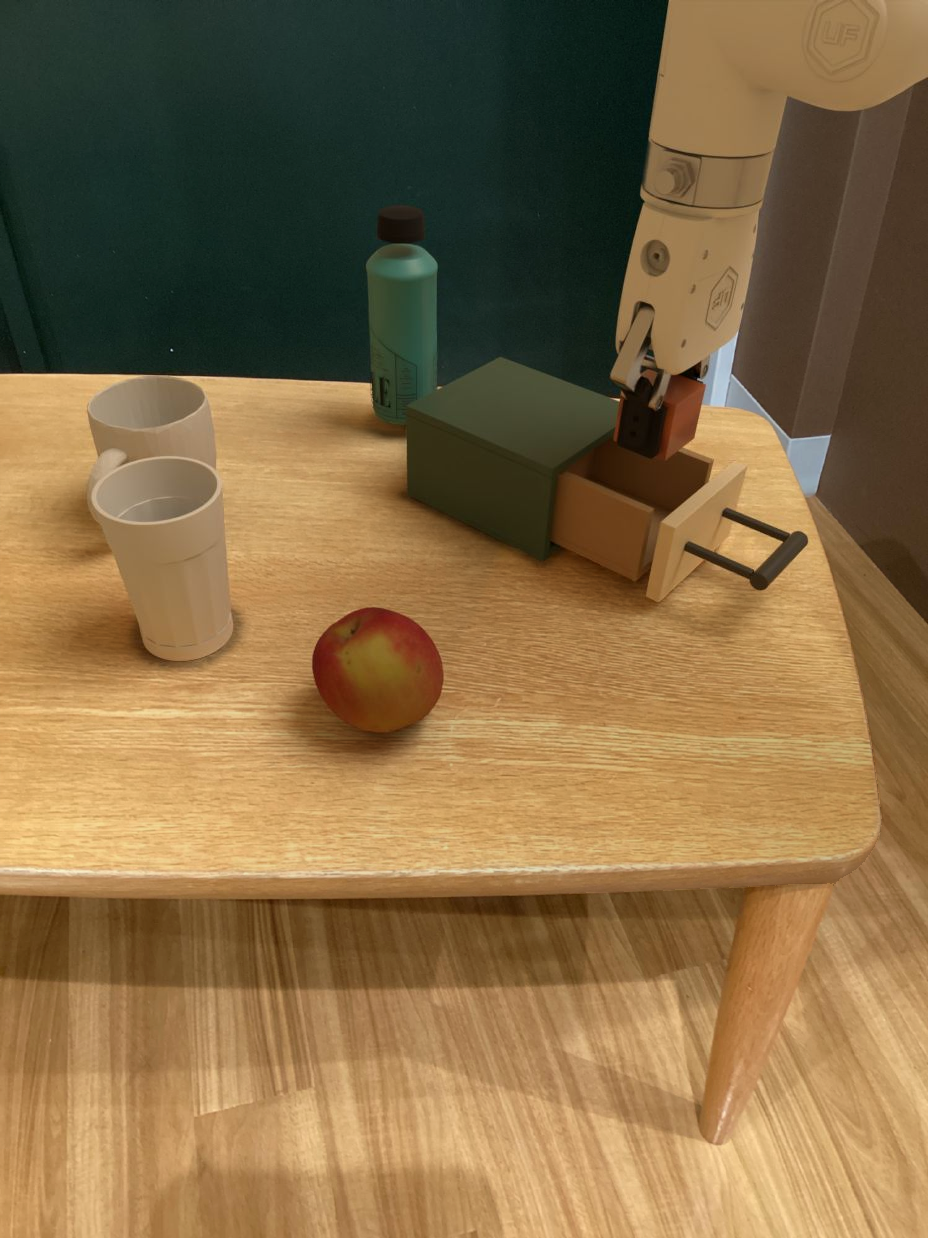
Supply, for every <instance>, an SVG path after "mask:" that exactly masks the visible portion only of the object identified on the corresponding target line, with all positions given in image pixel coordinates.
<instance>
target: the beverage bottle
mask: <svg viewBox="0 0 928 1238" xmlns="http://www.w3.org/2000/svg"><path fill="white" fill-rule="evenodd" d="M376 237H377V239H379V240H380V241H381V242H386V243H391V244H385V245H383V246H381V247H379V248H378V249H377V250H375V252H374V253H373V254H371V256H370V257H369V258H368V260H367V261H366V264H365V271H366V275H367V294H368V295H367V297H368V302H367V303H366V304H367V305H368V315H367V316H366V317H367V318H368V319H367V320H366V322H367V324H368V327H369V329H368V330H369V351H370V352H369V353H370V356H369V358H368V359H369V362H370V364H369V367H368V369H369V372H370V379H369V380H370V381H369V389H370V391H371V393H370V396H371V398H370V402H371V404H372V409H373V410H374V414H375V415H376V416H377V417H378V418H379V419H380V420H382V421H384V422H386V423H390V424H395V425H402V426H404V425H405V426H406V406H407V405H408V404H410V403H412V402H414V401H416V400H418V399H420V398H422V397H424V396H426V395H428V394H430V393H432V392H434V391H435V390H437V389H439V388H440V387H439V382H438V381H439V376H438V373H439V368H438V366H439V361H438V358H439V356H438V351H439V350H438V349H439V348H438V346H439V343H438V338H439V335H438V333H439V331H438V327H437V326H438V325H437V324H438V321H437V320H438V319H437V318H438V317H437V316H438V315H437V309H438V307H437V306H438V305H437V303H438V302H437V300H438V297H437V295H438V269H439V265H438V262H437V261H436V259H435V258H434V256H432V255H431V254H430V253H429V252H428V250H426V249H425V248H424V247H422V246H420V245H416V244H415V243H418V242H421V241H423V240H425V238H426V226H425V214H424V212H423V210H421V209H420V208H418V207H414V206H410V205H401V204H400V205H389V206H385V207H383V208H381V209H379V210H378V213H377V224H376Z"/></svg>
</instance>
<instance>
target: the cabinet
mask: <svg viewBox="0 0 928 1238" xmlns="http://www.w3.org/2000/svg"><path fill="white" fill-rule="evenodd" d="M619 401H620V400H617V399H614V398H611V397H609V396H607V395H604V394H601V393H598V392H595V391H593V390H591V389H587V388H584V387H582V386H579V385H577V384H574V383H571V382H568V381H566V380H565V379H564V380H563V379H561V378H558V377H555V376H553V375H550V374H547V373H545V372H542V371H541V370H536V369H535V368H532V367H529V366H526V365H524V364H521V363H518V362H515V361H513V360H511V359H507V358H505V357H502V356H499V357H497V358H495V359H493V360H492V361H490V362H488V363H485V364H483V365H482V366H479V367H478V368H476V369H474V370H472V371H470V372H468V373H466V374H465V375H463V376H461V377H458V378H456V379H455V380H453V381H450V382H449V383H446V384H445V385H443V386H441V387H439V389H438V388H437V390H435V391H434V392H432V393H430V394H428V395H426V396H424V397H422V398H420V399H418V400H416V401H414V402H412V403H410V404H408V405H407V406H406V425H405V427H406V428H405V429H406V436H405V437H406V488H407V489H406V495H407V496H408V497H411V498H413V499H415V500H417V501H419V502H421V503H423V504H424V505H427V506H429V507H431V508H433V509H435V510H437V511H438V512H439V511H440V512H441V513H443V514H445V515H448V516H449V517H451V518H454V519H455V520H458V521H459V522H462V523H464V524H466V525H468V526H470V527H472V528H474V529H476V530H478V531H480V532H482V533H484V534H485V535H488V536H489V537H492V538H494V539H495V540H498V541H500V542H502V543H504V544H506V545H508V546H510V547H512V548H513V549H517V550H519V551H520V552H522V553H524V554H526V555H529V556H531V557H532V558H535V559H537V560H539V561H541V562H544V561H545V560H547V559H548V558H549V557H551V556H552V555H554V553H556V552H557V551H558V550H560V549H561V548H563V547H562V546H560V545H558V544H556V543H554V542H552V541H550V538H551V529H552V521H553V512H554V503H555V494H556V485H557V476H558V473H560V472H561V471H563V470H564V469H566V468H567V467H568V466H570V465H571V464H573V463H574V462H576V461H577V460H579V459H580V458H582V457H583V456H584V455H586V454H587V453H589V452H590V451H592V450H593V449H595V448H596V447H598V446H599V445H600V444H602V443H603V442H605V441H606V440H608V439H609V438H611V437H612V436H614V433H615V427H616V421H617V414H618V408H619Z"/></svg>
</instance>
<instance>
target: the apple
mask: <svg viewBox="0 0 928 1238" xmlns="http://www.w3.org/2000/svg"><path fill="white" fill-rule="evenodd" d="M443 665H444V664H443V660H442V657H441V654H440V652H439V650H438V648H437V646H436V644H435V643H434V641H433V639H432V637H431V636H430V634H429V633H428V632H427V631H426V630H425V629H424V628H423V627H422V626H421V625H420V624H418V622H416V621H414V620H413V619H412V618H410V617H409V616H407V615H406V614H405V615H404V614H402V613H401V612H397V611H394V610H391V609H387V608H383V607H378V606H377V607H376V606H369V607H367V606H366V607H363V608H358V609H356V610H353V611H351V612H349V613H348V614H346V615H344V616H342V617H341V618H339V619H338V620H337V621H335V622H334V623H332V624H330V625H329V626H328V627H327V628H326V629H325V631H323V633H322V634H321V635H320V637H319V638H318V640H317V641H316V643H315V646H314V649H313V652H312V659H311V670H312V676H313V680H314V683H315V687H316V689H317V691H318V693H319V696H320V698H321V699H322V701H324V703H325V704H326V706H327V707H328V708H329V709H330V711H332V712H333V713H334V714H335V715H336V716H337V717H338V718H339V719H340V720H341V721H343V722H344V723H346V724H348V725H350V726H352V727H354V728H357V729H359V730H361V731H366V732H373V733H389V732H394V731H397V730H400V729H403V728H406V727H408V726H410V725H413V724H415V723H418V722H420V721H421V720H423V719H424V718H425V717H427V716H428V714H430V712H431V711H432V710H433V709H434V708H435V706H436V705H437V704H438V702H439V700H440V697H441V695H442V692H443V687H444V686H443V685H444V677H445V676H444V666H443Z"/></svg>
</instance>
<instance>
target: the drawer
mask: <svg viewBox="0 0 928 1238" xmlns="http://www.w3.org/2000/svg"><path fill="white" fill-rule="evenodd" d="M714 461H715V459H713V458H712V457H709V456H706V455H704V454H701V453H699V452H696V451H693V450H690V449H688V448H685V447H682V448H681V449H680V450H679V451H677V452H676V453H675V454H673V455H672V456H671V457H669V458H668V459H667V460H665V461H664V460H661V459H659V458H656V457H654V458H652V459H650V458H647V457H645V456H642V455H640V454H637V453H635V452H632V451H630V450H627V449H625V448H622V447H620V446H619V445H618V444H617V441H614V436H612V437H611V438H609V439H608V440H606V441H605V442H603V443H602V444H600V445H599V446H598V447H596V448H595V449H593V450H592V451H590V452H589V453H587V454H586V455H584V456H583V457H582V458H580V459H579V460H577V461H576V462H574V463H573V464H571V465H570V466H568V467H567V468H566V469H564V470H563V471H561V472H560V473H558V476H557V485H556V494H555V503H554V512H553V521H552V529H551V538H550V541H552V542H554V543H556V544H558V545H560V546H562V547H561V548H564V549H566V550H568V551H570V552H573V553H575V554H577V555H579V556H580V557H583V558H585V559H587V560H590V561H591V562H593V563H595V564H598V565H600V566H602V567H604V568H605V569H608V570H610V571H612V572H615V573H616V574H618V575H620V576H622V577H625V578H627V579H629V580H631V581H633V582H637V581H638V580H639V579H640V578H641V577H642V576H643V575H645V574H646V573H648V571H649V570H650V572H649V577H648V581H647V587H646V592H645V597H646V598H648V599H650V600H652V601H655V602H656V603H660V602H661V601H663V599H664V598H665V597H666V596H668V595H669V594H670V593H671V592H672V591H673V590H674V589H675V588H676V587H677V586H678V585H679V584H681V582H682V581H684V579H686V578H687V577H688V576H689V575H690V574H691V573H692V572H693V571H695V569H696V568H697V567H698V566H699V565H701V563H702V562H703V561H707V562H709V563H711V564H713V565H715V566H717V567H720V568H722V569H724V570H726V571H728V572H731V573H733V574H736V575H737V576H740V577H742V578H744V579H747V580H749V581H748V582H749V584H750V586H751V587H752V588H753V590H756V591H765V590H767V588H768V587H769V586H770V585H771V584H772V583H773V582H774V581H775V580H776V579H777V578H778V577H779V576H780V575H781V573H783V571H785V569H786V568H787V567H788V566H789V565H790V564H791V563H792V562H793V560H794V559H796V557H797V556H799V554H800V553H802V551H803V550H804V549H805V548H806V547H807V545H808V544H809V537H808V535H807V534H806V533H805V532H804V531H801V530H795V531H793V532H792V533H790V532H788V531H785V530H783V529H780V528H778V527H775V526H774V525H770V524H769V523H766V522H763V521H761V520H759V519H757V518H753V517H751V516H749V515H746V514H744V513H742V512H739V511H737V508H738V504H739V500H740V496H741V492H742V488H743V485H744V482H745V477H746V473H747V471H748V464H745V463H743V462H741V461H739V460H732V461H731V462H730V463H729V464H728V465H726V466H725V467H724V468H723V469H722V470H720V471H719V472H718V473H717V474H716V475H715V476H713V477H712V478H711V474H712V470H713V466H714ZM710 478H711V479H710ZM733 522H734V523H737V524H739V525H742V526H743V527H746V528H749V529H751V530H753V531H756V532H758V533H761V534H763V535H765V536H768V537H770V538H772V539H775V540H777V541H780V542H781V544H780V545H779V546H777V548H776V549H775V550H774V551H773V552H772V553H771V554H770V555H769V556H768V557H767V558H766V559H765V560H764V561H763V562H762V563H761V564H760V565H759V566H758V567H757V568H756V569H753V568H752V567H749V566H747V565H745V564H742V563H741V562H738V561H735V560H733V559H731V558H729V557H726V556H724V555H721V554H719V553H717V552H715V551H716V549H718V547H720V545H722V543H724V542H725V541H726V540H727V539H728V538H729V537H730V533H731V529H732V527H733Z"/></svg>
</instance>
